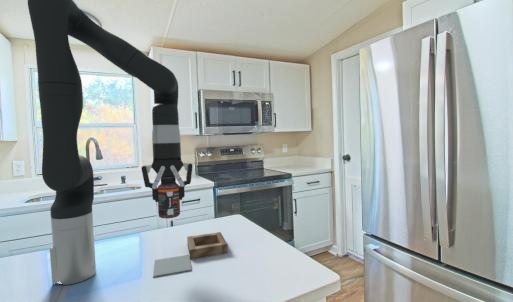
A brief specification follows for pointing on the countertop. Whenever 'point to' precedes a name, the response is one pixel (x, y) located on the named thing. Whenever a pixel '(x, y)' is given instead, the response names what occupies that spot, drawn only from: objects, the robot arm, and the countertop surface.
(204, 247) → the socket collar
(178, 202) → the supplement bottle
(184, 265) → the mat
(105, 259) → the countertop surface
